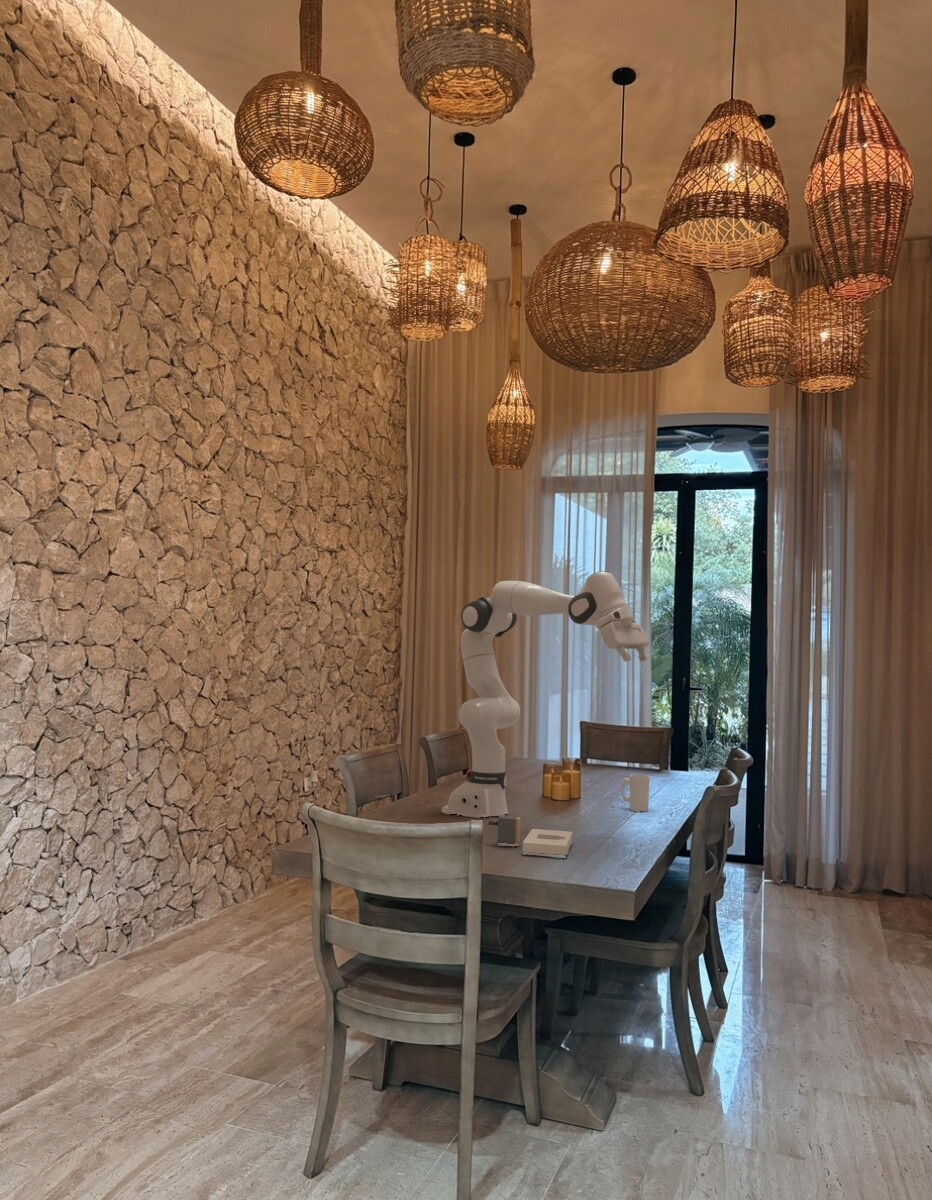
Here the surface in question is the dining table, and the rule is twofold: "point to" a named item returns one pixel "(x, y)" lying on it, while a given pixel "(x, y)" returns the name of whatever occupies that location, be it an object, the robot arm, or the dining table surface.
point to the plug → (508, 829)
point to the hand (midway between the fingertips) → (636, 660)
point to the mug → (637, 792)
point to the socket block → (548, 842)
